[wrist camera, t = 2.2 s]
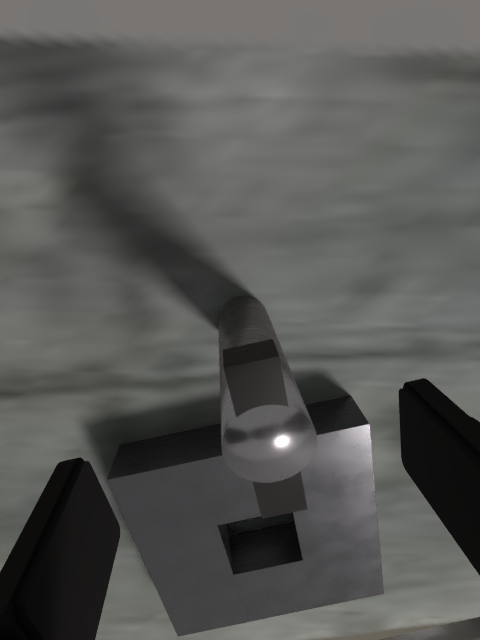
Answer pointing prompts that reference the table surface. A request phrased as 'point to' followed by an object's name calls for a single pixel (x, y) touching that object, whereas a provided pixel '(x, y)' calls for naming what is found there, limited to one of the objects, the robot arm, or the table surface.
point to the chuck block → (256, 546)
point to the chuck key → (262, 409)
